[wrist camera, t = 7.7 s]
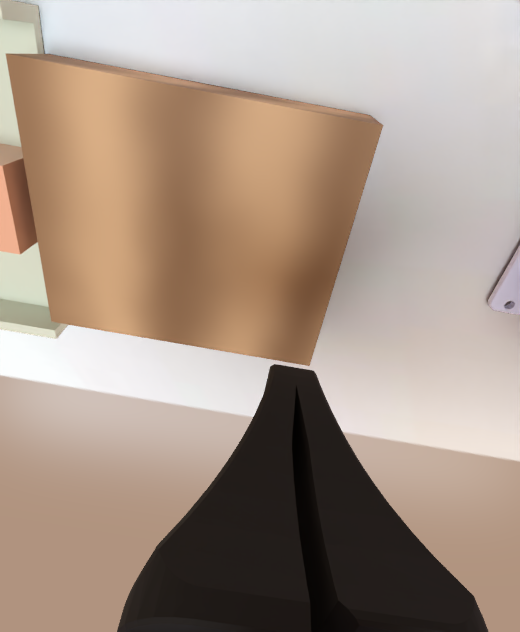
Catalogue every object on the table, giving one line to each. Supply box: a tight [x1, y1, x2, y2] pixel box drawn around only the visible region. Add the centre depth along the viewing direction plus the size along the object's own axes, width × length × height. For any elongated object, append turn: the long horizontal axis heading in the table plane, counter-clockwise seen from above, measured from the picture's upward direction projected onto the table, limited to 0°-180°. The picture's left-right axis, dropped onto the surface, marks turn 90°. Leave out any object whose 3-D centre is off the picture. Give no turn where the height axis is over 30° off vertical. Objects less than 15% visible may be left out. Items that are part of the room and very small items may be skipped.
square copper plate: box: [5, 53, 383, 366], centre depth 19 cm, size 14×12×3 cm
